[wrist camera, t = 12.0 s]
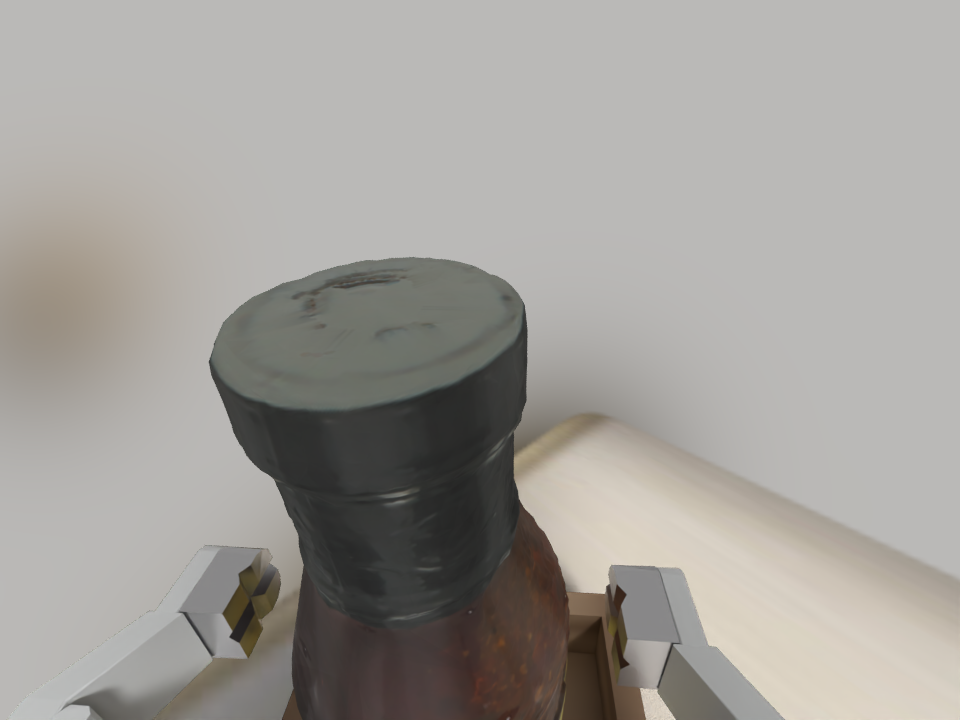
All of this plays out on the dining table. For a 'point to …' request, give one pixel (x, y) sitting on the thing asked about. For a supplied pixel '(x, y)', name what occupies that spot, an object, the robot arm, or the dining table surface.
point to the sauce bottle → (402, 489)
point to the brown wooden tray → (581, 668)
